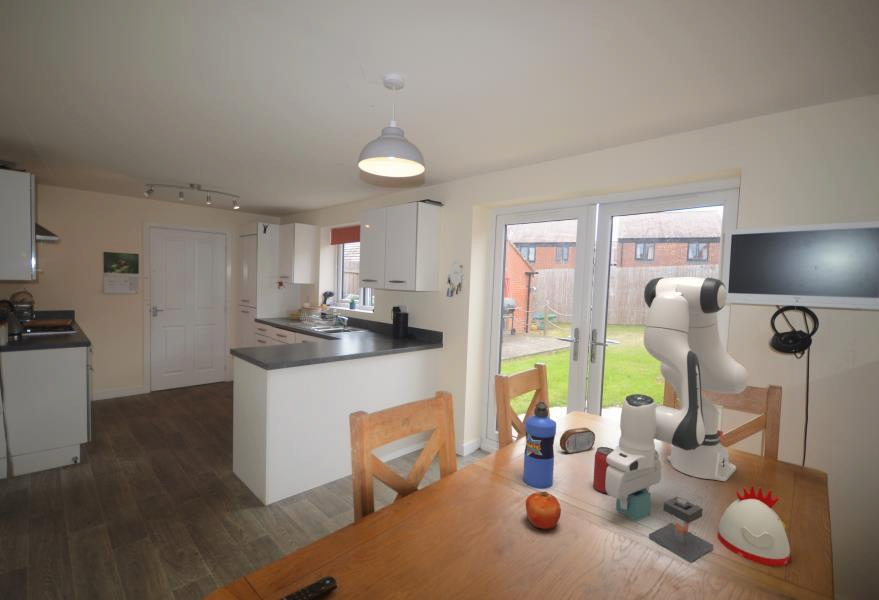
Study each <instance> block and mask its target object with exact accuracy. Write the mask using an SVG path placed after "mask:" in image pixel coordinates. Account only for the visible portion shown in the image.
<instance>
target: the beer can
mask: <svg viewBox="0 0 879 600" xmlns="http://www.w3.org/2000/svg"><path fill="white" fill-rule="evenodd" d="M614 450H615V449H613V448H611V447H608V446H607V447H606V446H600V447H597V448H596V451H595V453H594V462H593V463H594V466H593V481H592V482H593V483H592V484H593V485H592V486H593V487H594V489H595V490H597V491H598V492H600V493H603V494H608V493H607V492H606V489H605V480H606V470H607V467H608V466H609V465H610V464H608V463H607V462H606V458H607V456H608V455H609V454H610V453H611V452H613V451H614Z"/></svg>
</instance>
